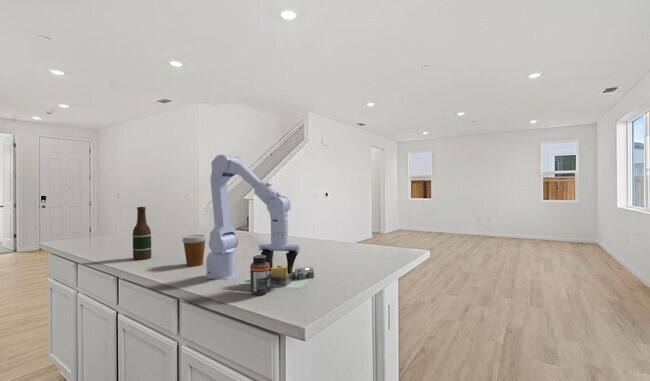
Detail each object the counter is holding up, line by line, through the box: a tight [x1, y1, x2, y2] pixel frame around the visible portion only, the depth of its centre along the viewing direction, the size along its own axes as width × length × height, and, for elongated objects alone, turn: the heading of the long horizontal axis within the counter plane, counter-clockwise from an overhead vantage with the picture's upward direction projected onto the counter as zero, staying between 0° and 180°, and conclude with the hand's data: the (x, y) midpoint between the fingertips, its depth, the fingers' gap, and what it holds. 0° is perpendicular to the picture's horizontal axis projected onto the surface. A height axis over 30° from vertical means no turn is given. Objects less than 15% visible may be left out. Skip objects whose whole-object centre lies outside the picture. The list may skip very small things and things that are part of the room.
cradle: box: [270, 271, 296, 286], centre depth 111 cm, size 8×8×3 cm
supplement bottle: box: [249, 254, 271, 296], centre depth 101 cm, size 6×6×11 cm
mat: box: [238, 272, 316, 289], centre depth 114 cm, size 22×16×1 cm
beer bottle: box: [132, 206, 152, 261], centre depth 151 cm, size 8×8×24 cm
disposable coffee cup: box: [182, 234, 208, 267], centre depth 138 cm, size 10×10×12 cm
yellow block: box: [271, 264, 289, 278], centre depth 111 cm, size 4×4×5 cm
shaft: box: [294, 266, 315, 280], centre depth 115 cm, size 6×4×4 cm, turn 119°
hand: (279, 272), depth 111 cm, fingers open, 7 cm apart
